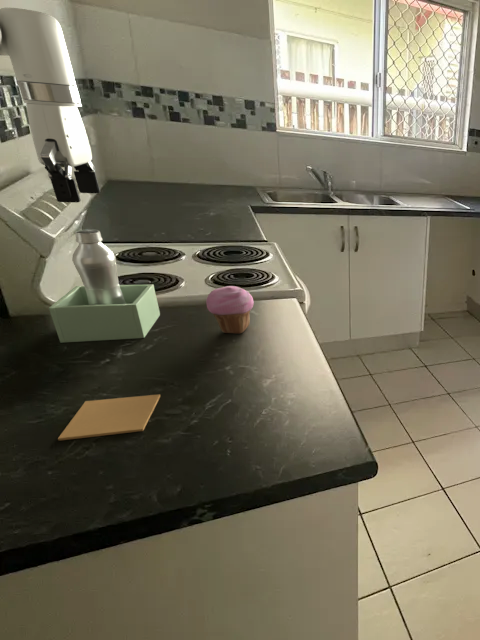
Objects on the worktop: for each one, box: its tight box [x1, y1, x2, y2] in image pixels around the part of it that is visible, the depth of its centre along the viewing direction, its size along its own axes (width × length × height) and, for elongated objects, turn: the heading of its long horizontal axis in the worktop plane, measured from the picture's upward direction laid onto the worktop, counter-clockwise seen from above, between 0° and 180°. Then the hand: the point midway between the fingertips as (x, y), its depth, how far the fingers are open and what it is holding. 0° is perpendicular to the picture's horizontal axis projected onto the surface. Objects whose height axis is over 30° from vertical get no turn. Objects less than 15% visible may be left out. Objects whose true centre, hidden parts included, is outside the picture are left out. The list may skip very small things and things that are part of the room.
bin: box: [48, 283, 161, 344], centre depth 98 cm, size 14×13×7 cm
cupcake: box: [206, 285, 255, 335], centre depth 102 cm, size 9×9×10 cm
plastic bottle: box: [71, 229, 127, 305], centre depth 95 cm, size 6×7×20 cm
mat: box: [57, 393, 161, 442], centre depth 73 cm, size 10×10×1 cm
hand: (80, 197), depth 89 cm, fingers open, 9 cm apart
